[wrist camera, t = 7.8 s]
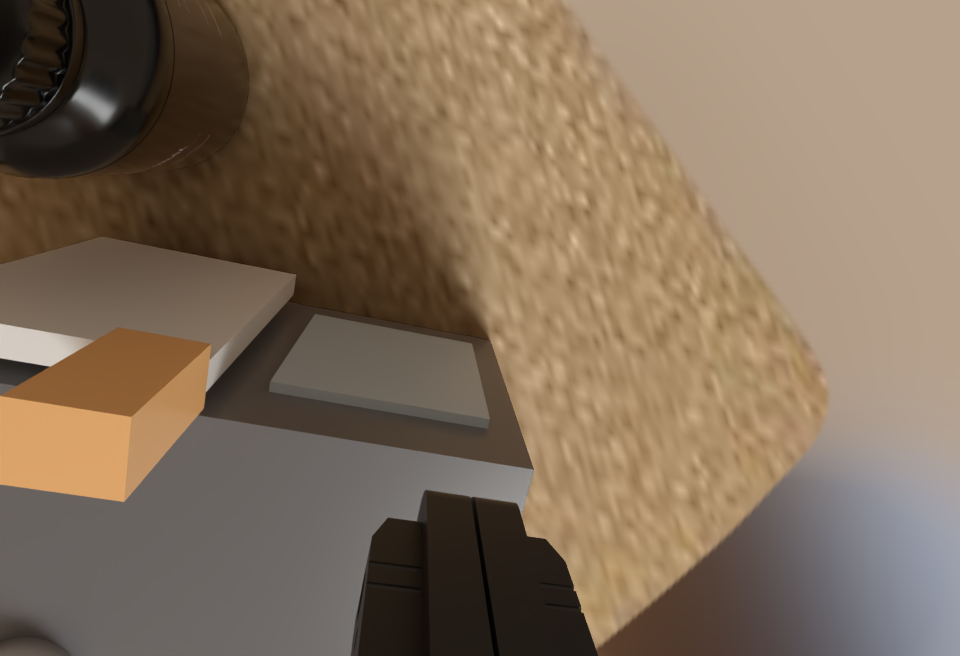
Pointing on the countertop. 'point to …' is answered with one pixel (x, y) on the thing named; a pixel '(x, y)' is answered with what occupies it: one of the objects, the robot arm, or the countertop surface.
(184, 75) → the supplement bottle
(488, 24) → the countertop surface
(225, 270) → the door
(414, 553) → the robot arm
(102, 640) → the box
